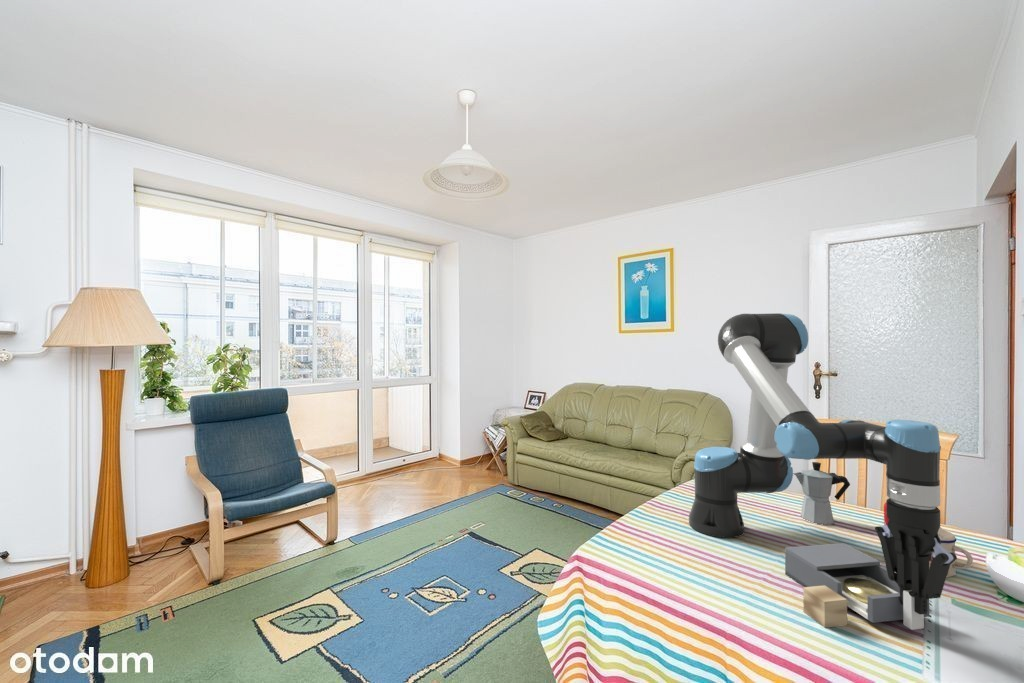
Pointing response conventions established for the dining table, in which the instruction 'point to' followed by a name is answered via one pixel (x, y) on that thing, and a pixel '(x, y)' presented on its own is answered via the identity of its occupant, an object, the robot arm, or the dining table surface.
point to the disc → (863, 589)
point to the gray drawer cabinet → (832, 566)
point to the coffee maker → (819, 493)
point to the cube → (825, 606)
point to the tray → (877, 603)
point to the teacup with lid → (952, 551)
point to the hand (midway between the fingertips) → (913, 626)
